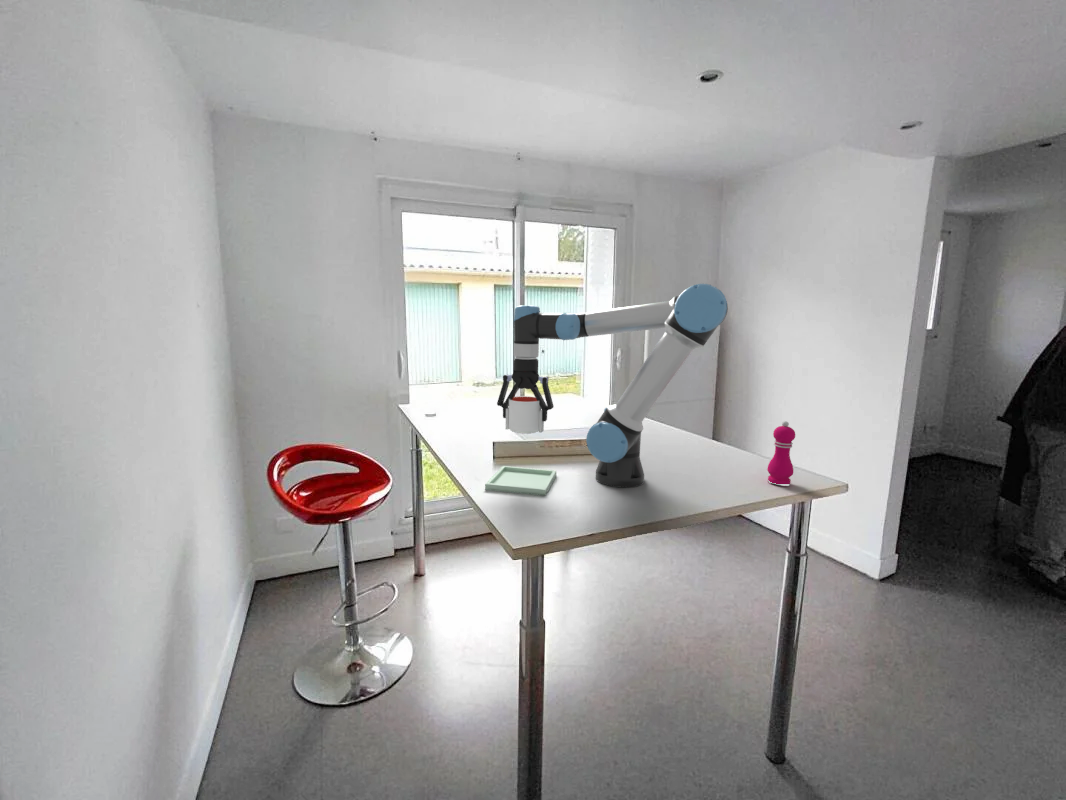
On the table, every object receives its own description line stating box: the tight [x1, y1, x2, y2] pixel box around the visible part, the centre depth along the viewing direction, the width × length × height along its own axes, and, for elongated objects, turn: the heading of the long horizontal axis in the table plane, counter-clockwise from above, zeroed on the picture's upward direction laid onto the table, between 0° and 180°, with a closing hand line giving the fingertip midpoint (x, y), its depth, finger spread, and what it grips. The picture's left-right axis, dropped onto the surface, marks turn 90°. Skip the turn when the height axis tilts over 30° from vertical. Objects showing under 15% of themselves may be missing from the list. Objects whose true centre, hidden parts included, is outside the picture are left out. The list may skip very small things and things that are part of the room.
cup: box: [508, 395, 542, 435], centre depth 143 cm, size 10×10×10 cm
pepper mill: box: [766, 420, 796, 485], centre depth 145 cm, size 7×7×20 cm
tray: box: [484, 465, 557, 496], centre depth 143 cm, size 18×18×2 cm
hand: (524, 430), depth 143 cm, fingers closed on cup, 10 cm apart
